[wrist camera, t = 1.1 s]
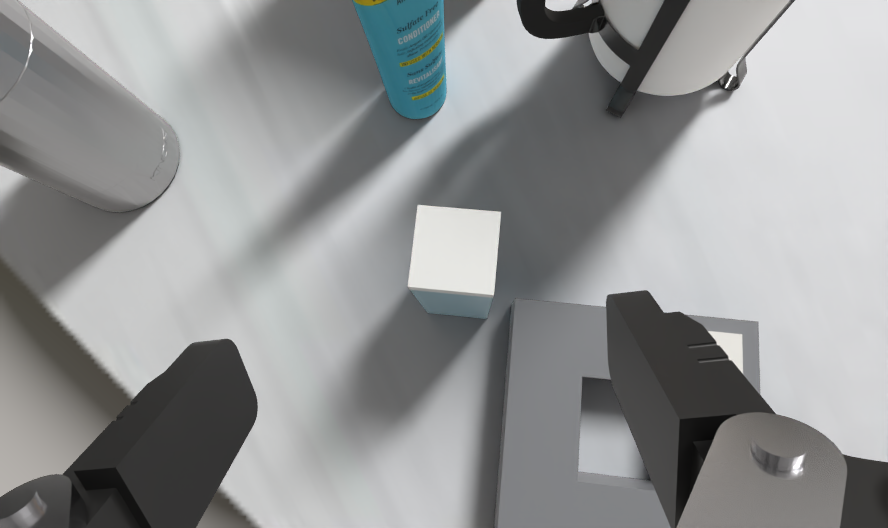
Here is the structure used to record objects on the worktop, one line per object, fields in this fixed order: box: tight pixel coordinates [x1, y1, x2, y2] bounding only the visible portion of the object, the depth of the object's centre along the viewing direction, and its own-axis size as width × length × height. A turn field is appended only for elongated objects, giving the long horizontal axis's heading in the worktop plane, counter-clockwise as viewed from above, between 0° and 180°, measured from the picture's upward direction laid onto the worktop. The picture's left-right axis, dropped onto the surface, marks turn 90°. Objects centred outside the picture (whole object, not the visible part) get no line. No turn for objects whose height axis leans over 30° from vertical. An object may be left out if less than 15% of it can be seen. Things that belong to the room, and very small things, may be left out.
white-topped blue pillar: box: [408, 205, 501, 319], centre depth 32 cm, size 4×4×12 cm
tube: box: [352, 0, 446, 119], centre depth 32 cm, size 7×5×19 cm, turn 133°
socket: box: [494, 298, 760, 528], centre depth 33 cm, size 16×16×4 cm
